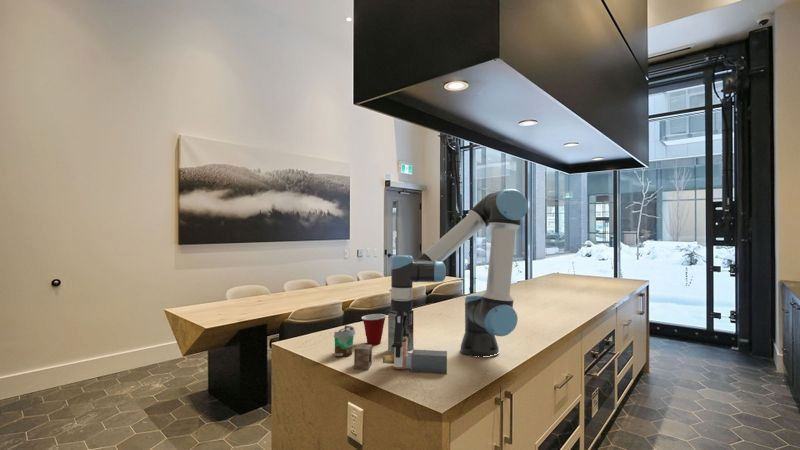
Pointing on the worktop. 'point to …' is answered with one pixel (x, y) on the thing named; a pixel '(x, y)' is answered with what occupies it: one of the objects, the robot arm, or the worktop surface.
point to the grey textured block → (363, 356)
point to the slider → (405, 357)
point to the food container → (344, 342)
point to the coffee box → (392, 329)
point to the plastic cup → (374, 328)
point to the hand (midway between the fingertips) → (400, 360)
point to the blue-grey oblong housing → (429, 361)
